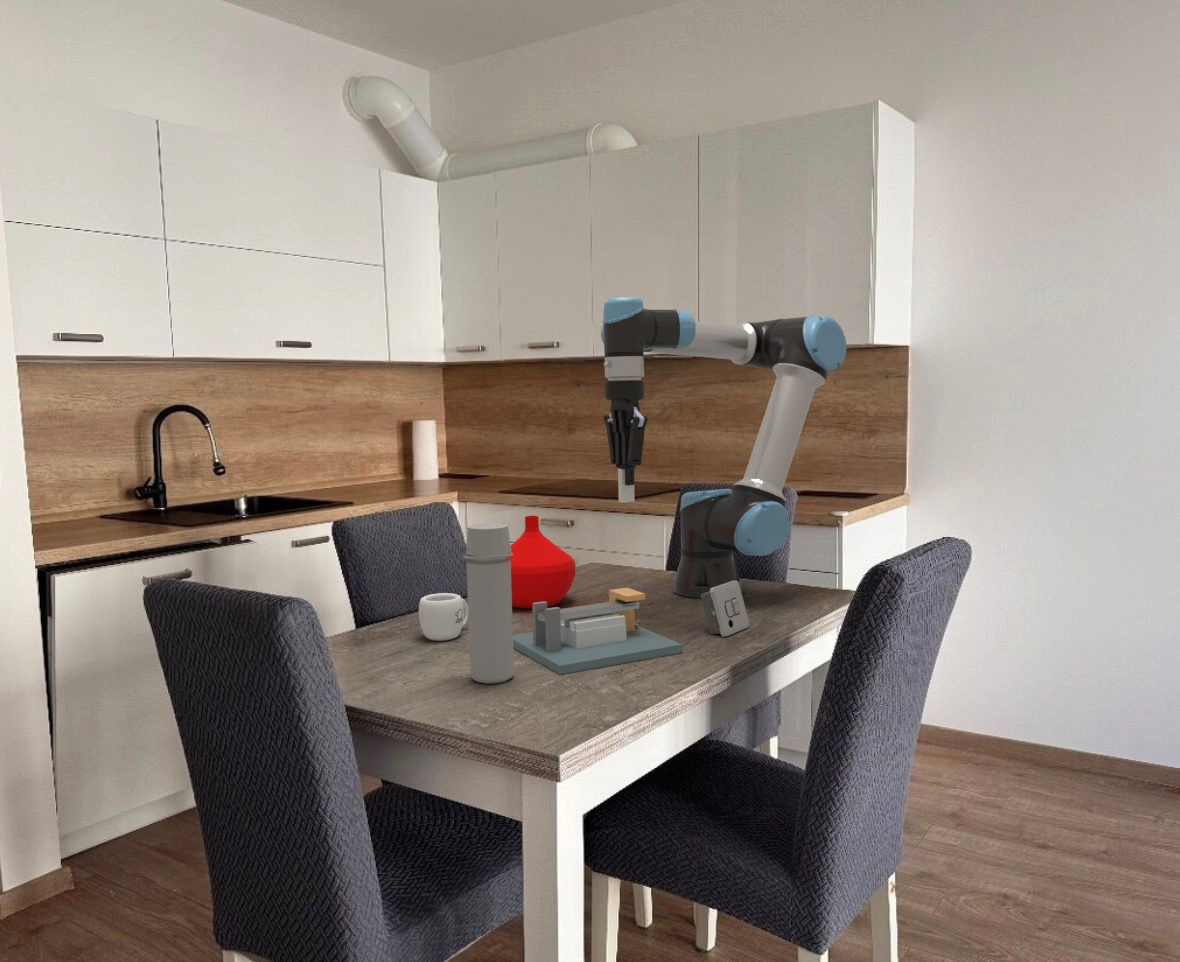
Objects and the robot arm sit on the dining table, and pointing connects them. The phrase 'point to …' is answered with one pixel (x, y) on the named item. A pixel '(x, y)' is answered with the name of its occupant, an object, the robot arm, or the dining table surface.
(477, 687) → the dining table surface
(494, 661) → the water bottle
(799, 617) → the dining table surface
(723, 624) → the electrical switch
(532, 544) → the vase
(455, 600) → the mug
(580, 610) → the grey long bar
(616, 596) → the orange block
